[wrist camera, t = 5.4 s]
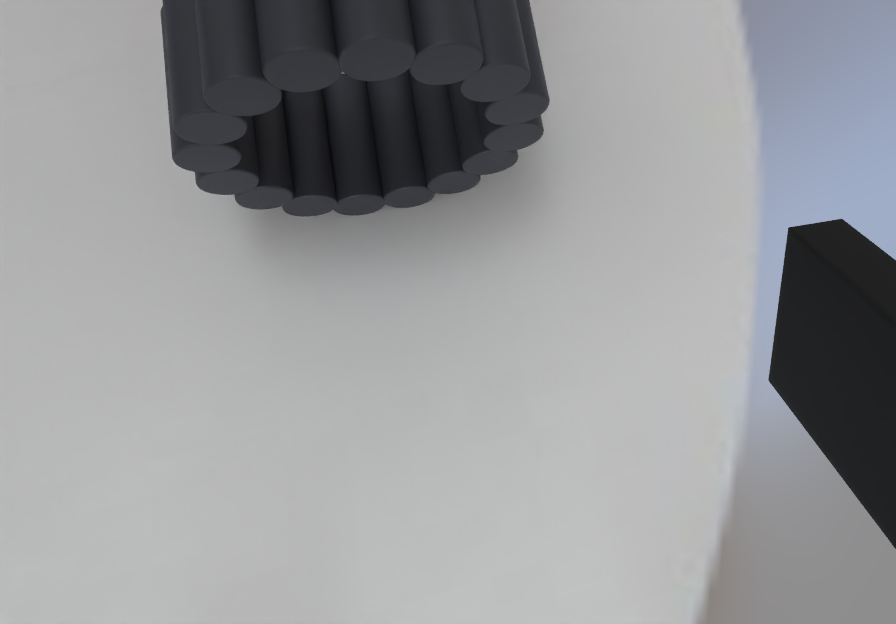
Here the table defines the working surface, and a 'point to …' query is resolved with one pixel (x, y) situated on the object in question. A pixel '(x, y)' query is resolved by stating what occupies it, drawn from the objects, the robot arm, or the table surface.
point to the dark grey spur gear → (349, 98)
